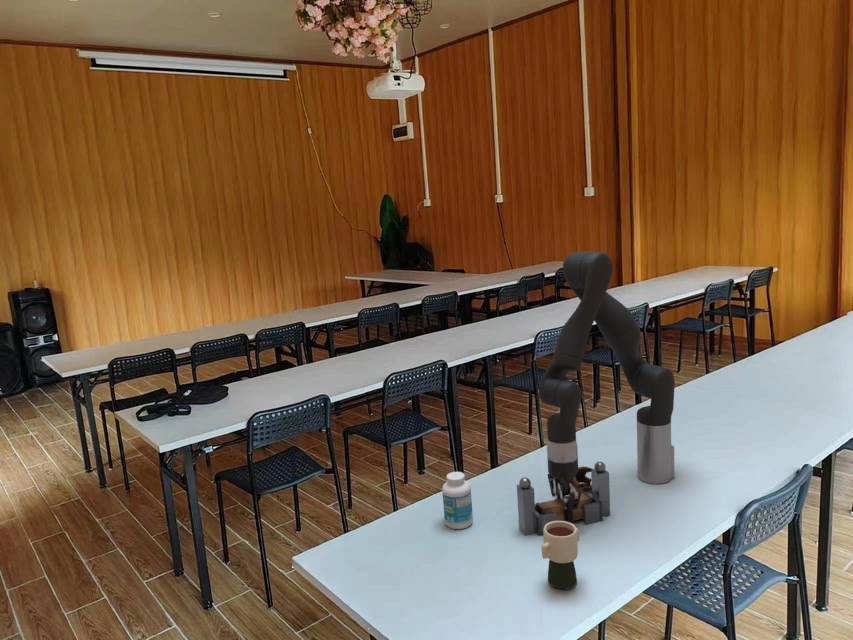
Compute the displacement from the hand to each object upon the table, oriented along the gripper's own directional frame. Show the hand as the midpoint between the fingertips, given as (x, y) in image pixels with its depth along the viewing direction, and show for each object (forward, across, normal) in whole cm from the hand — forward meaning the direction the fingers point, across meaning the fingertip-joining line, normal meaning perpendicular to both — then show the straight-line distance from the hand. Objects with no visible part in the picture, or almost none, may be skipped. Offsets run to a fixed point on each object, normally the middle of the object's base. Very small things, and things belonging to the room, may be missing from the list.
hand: (565, 518), depth 169 cm
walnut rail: (0, 0, 0) cm, 0 cm away
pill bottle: (+1, +11, +25) cm, 27 cm away
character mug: (+1, -23, +13) cm, 26 cm away
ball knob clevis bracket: (+1, 0, 0) cm, 1 cm away
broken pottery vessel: (+1, +14, -12) cm, 18 cm away
